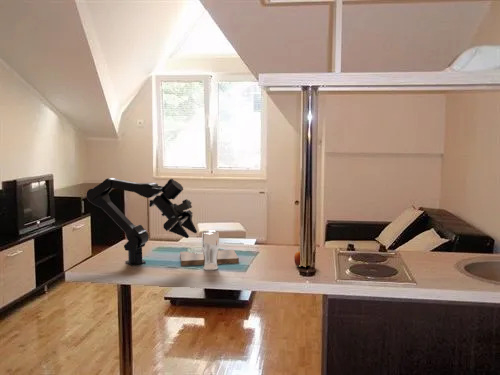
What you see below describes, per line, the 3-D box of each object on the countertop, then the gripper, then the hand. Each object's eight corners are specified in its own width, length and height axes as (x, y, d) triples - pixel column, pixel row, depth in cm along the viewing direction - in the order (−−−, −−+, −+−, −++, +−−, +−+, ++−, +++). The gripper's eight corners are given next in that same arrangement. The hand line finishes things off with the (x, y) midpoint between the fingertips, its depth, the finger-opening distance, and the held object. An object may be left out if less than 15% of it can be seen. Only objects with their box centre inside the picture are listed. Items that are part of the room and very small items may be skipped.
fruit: (290, 266, 192) (293, 247, 195) (294, 271, 198) (297, 253, 201) (309, 268, 189) (312, 249, 192) (313, 273, 195) (316, 255, 198)
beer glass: (216, 271, 189) (216, 234, 188) (199, 270, 191) (199, 233, 189) (221, 266, 196) (221, 230, 194) (204, 265, 198) (204, 229, 196)
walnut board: (181, 265, 197) (181, 260, 197) (180, 256, 212) (180, 251, 212) (238, 262, 202) (238, 258, 201) (233, 253, 216) (233, 249, 216)
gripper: (170, 196, 184) (197, 226, 183) (187, 191, 202) (212, 217, 201) (151, 216, 187) (178, 245, 186) (170, 208, 205) (195, 235, 204)
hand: (192, 235), depth 194 cm, fingers open, 9 cm apart
